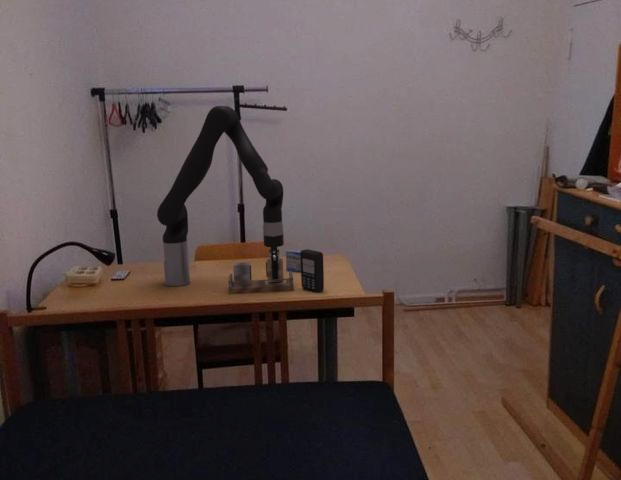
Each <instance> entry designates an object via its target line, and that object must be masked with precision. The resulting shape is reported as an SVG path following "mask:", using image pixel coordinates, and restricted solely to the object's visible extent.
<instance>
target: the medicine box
mask: <svg viewBox="0 0 621 480" xmlns="http://www.w3.org/2000/svg"><path fill="white" fill-rule="evenodd" d="M301 250H302V249H287V250H286V251H285V261H286V262H285V264H286V265H285V267H286V268H285V269H286V271H287V272H289V271H292V273H293V272H294V273H301V259H300V252H301Z"/></svg>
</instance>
